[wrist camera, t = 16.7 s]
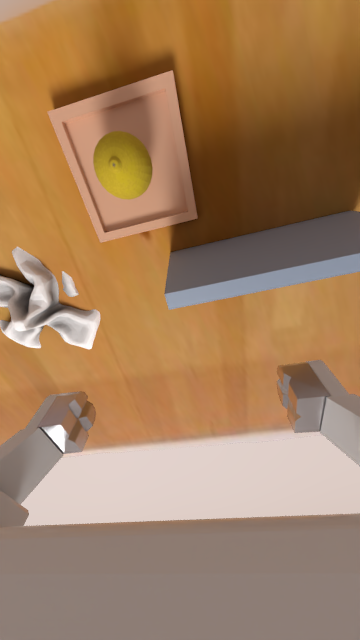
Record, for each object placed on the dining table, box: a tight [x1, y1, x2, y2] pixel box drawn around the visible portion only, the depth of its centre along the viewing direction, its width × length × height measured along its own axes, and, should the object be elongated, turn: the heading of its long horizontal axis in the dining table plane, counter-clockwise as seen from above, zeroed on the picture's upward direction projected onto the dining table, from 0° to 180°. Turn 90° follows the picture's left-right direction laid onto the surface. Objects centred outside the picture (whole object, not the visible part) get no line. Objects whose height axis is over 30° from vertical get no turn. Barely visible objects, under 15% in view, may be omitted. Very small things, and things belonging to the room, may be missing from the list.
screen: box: [165, 211, 360, 310], centre depth 25 cm, size 24×5×14 cm, turn 103°
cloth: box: [0, 247, 100, 349], centre depth 33 cm, size 22×19×6 cm
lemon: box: [93, 131, 153, 200], centre depth 22 cm, size 6×6×8 cm
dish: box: [48, 70, 198, 243], centre depth 25 cm, size 13×13×2 cm
